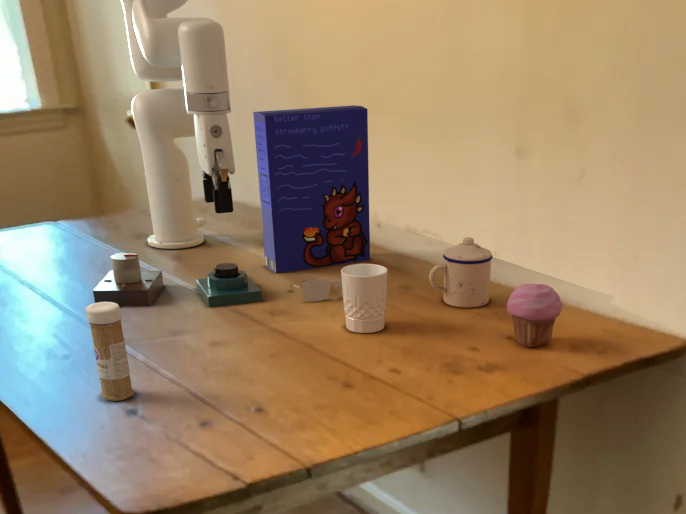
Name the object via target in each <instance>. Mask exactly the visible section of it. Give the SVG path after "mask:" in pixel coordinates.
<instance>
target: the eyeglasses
mask: <svg viewBox="0 0 686 514" xmlns="http://www.w3.org/2000/svg"><path fill="white" fill-rule="evenodd" d="M331 283H337V285H336V286H337V289H338V291H340V293H341V295H342V296H343V291H342V278H341V277H340V278H339V279H338V280H332V281H330V279H326V278H319V279H310V280H307V281H304V282H303V283H301V285H300V286H299V285H296V284H293V283H291V284H290V286H293V287H296V288H299V289H302V294H303V297H304V299H305V300H306V301H307V302H310V303H311V302H313V303H314V302H321V301H325V300H326V299H328V298H329V296H330V292H331V288H332V284H331Z"/></svg>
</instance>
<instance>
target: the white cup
mask: <svg viewBox="0 0 686 514" xmlns="http://www.w3.org/2000/svg"><path fill="white" fill-rule="evenodd" d="M340 278H342V291H343V295H342V301H343V310H344V317H345V318H344V319H345V328H346V329H347V330H348V331H350V332H353V333H356V334H357V333H359V334H374V333H377V332H380V331H382V330H384V328H385V325H386V310H387V294H388V292H387V291H388V268H387V267H385V266H383V265H380V264H374V263H354V264H349V265H346V266H344V267H342V268H341V269H340Z"/></svg>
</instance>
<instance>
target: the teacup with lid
mask: <svg viewBox="0 0 686 514" xmlns="http://www.w3.org/2000/svg"><path fill="white" fill-rule="evenodd" d="M442 258H443V260H444V261H443V263H440V264H436V265H434V266H433V267H432V268H431V269H430V271H429V275H428V279H429V283H430V285H431V287H432V288H433V289H434V290H435V291H436V292H441V293H443V302H444V303H445V304H446V305H449V306H451V307H455V308H463V309H473V308H478V307H482V306H486V305H487V304H488V303H489V301H490V291H491V289H490V288H491V269H492V259H493V253H492V251H491V250H489V249H488V248H486V247H482V246H481V245H479V244H478V243H475V239H474V238H473V237H471V236H470V237H469V236H468V237H464V238H463V239H462V242H461V243H458V244H456V245H455V246H452V247H449V248H447V249H445V250H444V252H443V254H442ZM440 270H443V286H438V285H437V284H436V282H435V274H436V273H437V272H438V271H440Z"/></svg>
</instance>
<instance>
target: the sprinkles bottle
mask: <svg viewBox="0 0 686 514" xmlns="http://www.w3.org/2000/svg"><path fill="white" fill-rule="evenodd" d="M120 307H121V306H119V305H118V304H116V303H113V302H98V303H95V302H93V303H91V304H89V305H87V306H86V308H85V315H86V320H87V321H88V324H89V326H90V332H91V338H92V343H93V350H94V351H93V352H94V356H95V361H96V368H97V373H98V377H99V382H100V388H101V396H102V398H103V399H104V400H106V401H111V402H117V401H118V402H120V401H124V400H126V399H129V398H131V397H132V396H134V389H133V386H132V381H131V375H130V374H131V370H130V365H129V364H130V363H129V357H128V353H127V345H126V340H125V337H124V332H123V326H122V312H121V308H120Z"/></svg>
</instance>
